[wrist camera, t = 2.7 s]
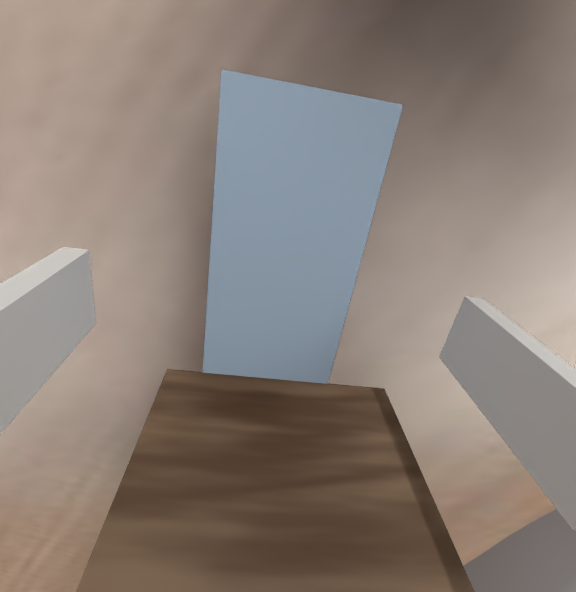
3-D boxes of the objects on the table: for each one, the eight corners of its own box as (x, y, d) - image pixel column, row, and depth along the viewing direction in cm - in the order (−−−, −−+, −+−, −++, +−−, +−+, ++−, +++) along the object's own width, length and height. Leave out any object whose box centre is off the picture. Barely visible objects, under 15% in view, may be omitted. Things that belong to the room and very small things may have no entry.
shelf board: (228, 77, 15) (221, 69, 12) (383, 107, 15) (403, 104, 13) (209, 345, 21) (202, 372, 18) (321, 357, 22) (327, 383, 19)
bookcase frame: (167, 369, 29) (1, 772, 11) (384, 388, 31) (543, 748, 13) (166, 501, 36) (69, 863, 19) (340, 509, 39) (402, 838, 21)
